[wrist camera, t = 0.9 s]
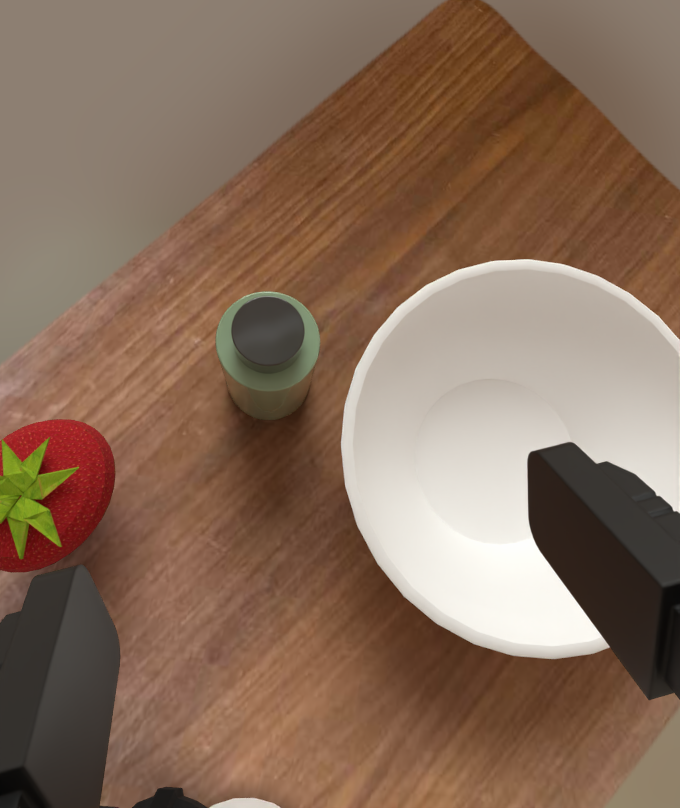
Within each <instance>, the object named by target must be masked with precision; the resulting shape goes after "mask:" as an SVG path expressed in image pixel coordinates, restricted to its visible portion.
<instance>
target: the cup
mask: <svg viewBox="0 0 680 808" xmlns="http://www.w3.org/2000/svg"><path fill="white" fill-rule="evenodd" d="M210 808H280V807H279V806H277V805H276V804H274V803H271V802H267V801H264V800H260V799H257V798H234V799H231V800H228V801H224V802H221V803H218V804H215V805H213V806H211V807H210Z"/></svg>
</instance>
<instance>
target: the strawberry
mask: <svg viewBox="0 0 680 808" xmlns="http://www.w3.org/2000/svg"><path fill="white" fill-rule="evenodd" d="M114 482H115V463H114V458H113V454H112V451H111V448H110V446H109V445H108V443H107V441H106V440H105V438H104V437H103V436H102V435H101V434H100V433H99V432H98V431H97V430H96V429H95V428H93V427H91V426H89V425H87V424H85V423H83V422H79V421H75V420H62V419H57V420H48V421H43V422H37V423H33V424H31V425H28V426H25V427H22V428H20V429H18V430H17V431H15V432H13V433H11V434H9V435H8V436H6V437H5V438H4V439H2V440H1V441H0V570H2V571H7V572H28V571H33V570H38V569H41V568H44V567H46V566H49V565H51V564H54V563H56V562H57V561H59V560H60V559H62V558H64V557H65V556H67V555H68V554H70V553H71V552H72V551H73V550H75V549H76V548H77V547H78V546H80V545H81V544H82V543H83V542H84V541H85V540H86V539H87V538H88V536H89V535H90V534H91V533H92V532H93V531H94V529H95V528H96V526H97V525H98V523H99V522H100V520H101V519H102V517H103V515H104V513H105V511H106V509H107V507H108V505H109V503H110V499H111V496H112V493H113V489H114Z"/></svg>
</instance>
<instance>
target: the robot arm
mask: <svg viewBox="0 0 680 808" xmlns="http://www.w3.org/2000/svg"><path fill="white" fill-rule="evenodd" d="M527 479H528V520H529V526H530V530H531V533H532V536H533V539H534V541H535V543H536V545H537V547H538V549H539V551H540V552H541V554H542V555H543V556H544V558H545V559H546V560H547V562H548V563H549V564H550V566H551V567H552V569H553V570H554V571H555V573H556V574H557V575H558V577H559V578H560V580H561V581H562V582H563V584H564V585H565V586H566V588H567V589H568V590H569V592H570V593H571V595H572V596H573V597H574V599H575V600H576V601H577V603H578V604H579V605H580V607H581V608H582V610H583V611H584V612H585V614H586V615H587V616H588V618H589V619H590V621H591V622H592V623H593V625H594V626H595V627H596V629H597V630H598V631H599V633H600V634H601V636H602V637H603V638H604V640H605V641H606V642H607V644H608V645H609V646H610V648H611V649H612V651H613V652H614V653H615V655H616V656H617V657H618V659H619V660H620V662H621V663H622V664H623V666H624V667H625V668H626V670H627V671H628V672H629V674H630V675H631V677H632V678H633V679H634V681H635V682H636V683H637V685H638V686H639V687H640V689H641V690H642V692H643V693H644V694H645V696H646V697H647V698H648V700H651V699H655V698H658V697H661V696H665V695H668V694H671V693H675V694H676V695H677V697H678V698H679V699H680V513H679V512H677V511H675V512H674V511H673V509H672V506H671V505H670V504H668V503H667V502H666V501H665V500H664V499H663V498H662V497H660V496H656V493H655V491H654V490H653V489H651V488H650V487H649V486H648V485H647V484H646V483H645V482H644V481H642V480H641V479H640V478H639V477H638V476H637V475H636V474H634V473H632V472H630V471H628V470H625V469H623V468H621V467H619V466H617V465H614V464H612V463H610V462H608V461H605V462H601V463H598V464H596V463H595V462H594V461H593V460H592V459H591V458H590V457H589V456H588V455H587V454H586V453H585V452H584V451H582V450H581V449H580V448H579V447H578V446H577V445H576V444H575V443H573V442H566V443H562V444H559V445H555V446H551V447H547V448H543V449H539V450H535V451H531V452H530V453H529V455H528V459H527ZM119 666H120V646H119V639H118V635H117V631H116V628H115V626H114V623H113V621H112V619H111V617H110V615H109V613H108V611H107V609H106V607H105V604H104V602H103V600H102V598H101V596H100V594H99V592H98V590H97V588H96V585H95V583H94V581H93V579H92V577H91V575H90V573H89V571H88V570H87V568H86V567H85V566H83V565H77V566H73V567H69V568H65V569H61V570H57V571H53V572H49V573H45V574H41V575H37V576H35V577H34V578H33V580H32V581H31V584H30V586H29V589H28V592H27V595H26V598H25V601H24V604H23V607H22V609H21V611H20V612H16V613H12V614H8V615H6V616H5V618H4V619H3V620H2V621H1V623H0V808H99V806H100V799H101V792H102V785H103V778H104V771H105V764H106V757H107V750H108V743H109V736H110V729H111V722H112V715H113V708H114V701H115V694H116V687H117V680H118V673H119Z"/></svg>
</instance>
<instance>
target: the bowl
mask: <svg viewBox="0 0 680 808" xmlns="http://www.w3.org/2000/svg"><path fill="white" fill-rule="evenodd" d="M566 442H573V443H575V444H576V445H577V446H578V447H579V448H580V449H581V450H582V451H584V452H585V453H586V454H587V455H588V456H589V457H590V458H591V459H592V460H593V461H594V462H595V463H596V464H598V463H601V462H605V461H608V462H610V463H612V464H614V465H617V466H619V467H621V468H623V469H625V470H628V471H630V472H632V473H634V474H636V475H637V476H638V477H639V478H640V479H641V480H642V481H644V482H645V483H646V484H647V485H648V486H649V487H650V488H651V489H653V490H654V491H655V493H656V496H660V497H662V498H663V499H664V500H665V501H666V502H667V503H668V504H670V505H671V506H672V509H673V511H674V512H675V511H677V512H679V513H680V340H679V339H678V338H677V337H676V336H675V334H674V333H673V332H672V331H671V330H670V329H669V328H668V327H667V325H666V324H665V323H664V322H663V321H662V320H661V319H660V318H659V316H657V315H656V314H655V313H654V312H652V311H651V310H650V309H649V308H647V307H646V306H645V305H644V304H642V303H641V302H640V301H639V300H637V299H636V298H635V297H634V296H632V295H631V294H630V293H628V292H626V291H624V290H623V289H621V288H619V287H617V286H615V285H613V284H612V283H610V282H608V281H606V280H604V279H602V278H601V277H599V276H597V275H594V274H591V273H588V272H585V271H582V270H579V269H576V268H573V267H570V266H567V265H564V264H557V263H550V262H543V261H536V260H529V259H525V260H505V261H491V262H487V263H483V264H479V265H475V266H471V267H467V268H463V269H459V270H457V271H455V272H453V273H451V274H448V275H446V276H444V277H442V278H440V279H438V280H436V281H434V282H432V283H430V284H428V285H426V286H425V287H423V288H422V289H421V290H419V291H418V292H417V293H416V294H414V295H413V296H412V297H410V298H409V299H408V300H406V301H405V302H404V303H403V304H401V305H400V306H399V307H397V309H396V310H395V311H394V312H393V313H392V315H391V316H390V317H389V318H388V319H387V320H386V322H385V323H384V324H383V325H382V326H381V327H380V329H379V330H378V331H377V332H376V333H375V334H374V336H373V338H372V340H371V341H370V343H369V345H368V347H367V349H366V351H365V352H364V354H363V356H362V358H361V360H360V362H359V363H358V365H357V367H356V370H355V373H354V376H353V379H352V383H351V386H350V389H349V393H348V396H347V399H346V402H345V407H344V418H343V428H342V439H341V450H342V460H343V470H344V480H345V487H346V490H347V494H348V497H349V500H350V503H351V507H352V510H353V513H354V517H355V520H356V523H357V526H358V528H359V530H360V532H361V534H362V536H363V537H364V539H365V541H366V543H367V545H368V547H369V549H370V551H371V553H372V554H373V556H374V558H375V560H376V562H377V564H378V565H379V566H380V567H381V569H382V570H383V571H384V572H385V574H386V575H387V576H388V577H389V579H390V580H391V581H392V582H393V584H394V585H395V586H396V587H397V588H398V590H399V591H400V592H401V593H402V595H403V596H404V597H405V598H406V599H408V600H409V601H410V602H411V603H412V604H414V605H415V606H416V607H417V608H418V609H420V610H421V611H422V612H423V613H424V614H425V615H427V616H428V617H429V618H430V619H431V620H433V621H434V622H435V623H436V624H438V625H440V626H442V627H443V628H445V629H447V630H449V631H451V632H453V633H454V634H456V635H458V636H460V637H462V638H464V639H465V640H467V641H469V642H471V643H473V644H475V645H479V646H482V647H485V648H489V649H492V650H495V651H499V652H502V653H505V654H509V655H512V656H521V657H533V658H545V659H559V658H566V657H573V656H580V655H588V654H594V653H596V652H599V651H602V650H604V649H607V648H610V646H609V645H608V644H607V642H606V641H605V640H604V638H603V637H602V636H601V634H600V633H599V631H598V630H597V629H596V627H595V626H594V625H593V623H592V622H591V621H590V619H589V618H588V616H587V615H586V614H585V612H584V611H583V610H582V608H581V607H580V605H579V604H578V603H577V601H576V600H575V599H574V597H573V596H572V595H571V593H570V592H569V590H568V589H567V588H566V586H565V585H564V584H563V582H562V581H561V580H560V578H559V577H558V575H557V574H556V573H555V571H554V570H553V569H552V567H551V566H550V564H549V563H548V562H547V560H546V559H545V558H544V556H543V555H542V554H541V552H540V551H539V549H538V547H537V545H536V543H535V541H534V539H533V536H532V533H531V530H530V526H529V520H528V479H527V459H528V455H529V453H530V452H531V451H535V450H539V449H543V448H547V447H551V446H555V445H559V444H562V443H566Z"/></svg>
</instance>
